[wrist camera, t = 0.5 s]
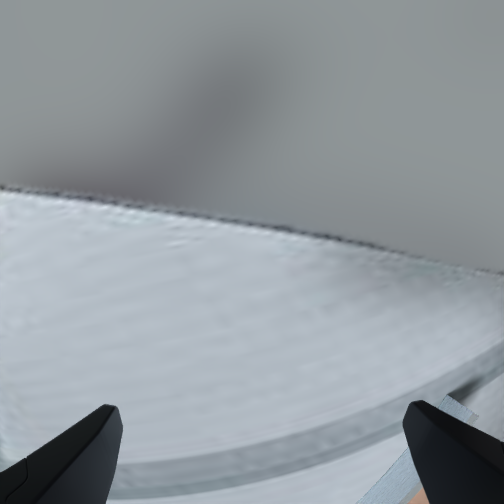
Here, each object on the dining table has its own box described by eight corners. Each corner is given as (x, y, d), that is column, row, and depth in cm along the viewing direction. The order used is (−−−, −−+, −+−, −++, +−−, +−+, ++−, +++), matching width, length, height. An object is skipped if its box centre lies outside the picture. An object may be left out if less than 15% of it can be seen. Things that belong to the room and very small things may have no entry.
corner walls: (426, 542, 25) (438, 560, 21) (325, 530, 24) (334, 557, 20) (519, 436, 25) (538, 448, 21) (446, 394, 25) (472, 412, 20)
